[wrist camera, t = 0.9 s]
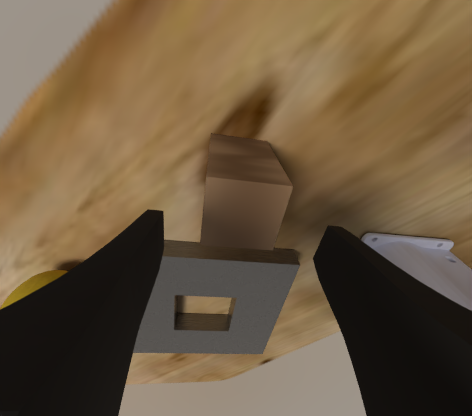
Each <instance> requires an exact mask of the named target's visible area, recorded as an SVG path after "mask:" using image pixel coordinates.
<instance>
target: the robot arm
mask: <svg viewBox="0 0 472 416" xmlns="http://www.w3.org/2000/svg"><path fill="white" fill-rule="evenodd" d="M453 245H454V243H453V242H452V241H451V240H447V239H436V238H424V237H413V236H402V235H390V234H379V233H366V234H365V235H364V236H363V237H362V239H361V240H360V239H359V238H357V237H356V236H354V235H353V234H351V233H350V232H348V231H347V230H345V229H344V228H342V227H339V226H328V227H327V229H326V231H325V233H324V235H323V238H322V240H321V242H320V244H319V246H318V249H317V251H316V253H315V255H314V257H313V260H314V264H315V268H316V272H317V275H318V278H319V281H320V283H321V286H322V288H323V290H324V293H325V295H326V297H327V300H328V302H329V304H330V306H331V309H332V311H333V313H334V315H335V318H336V320H337V322H338V325H339V327H340V329H341V332H342V334H343V337H344V340H345V343H346V346H347V349H348V352H349V355H350V358H351V361H352V365H353V368H354V371H355V375H356V378H357V381H358V385H359V388H360V391H361V395H362V400H363V403H364V407H365V411H366V415H367V416H472V269H470V268H469V267H468V266H467V265H466V264H464V263H463V262H462V261H461V260H460V259H458V258H457V257H456V256H455V255H454V254H452V253H451V252H450V251H449V250H450V249H451V248H452V247H453ZM163 251H164V218H163V211H159V210H147V211H145V212H144V213H143V214H142V215H141V216H140V217H139V218H137V219H136V220H135V221H134V222H133V223H132V224H131V225H130V226H128V227H127V228H126V229H125V230H124V231H123V232H121V233H120V234H119V235H118V236H117V237H115V238H114V239H113V240H112V241H110V242H109V243H108V244H107V245H105V246H104V247H103V248H101V249H100V250H99V251H97V252H96V253H95V254H93V255H92V256H91V257H89V258H88V259H86V260H85V261H83V262H82V263H81V264H79V265H78V266H76V267H75V268H73V269H71V270H70V271H68V272H67V273H65V274H64V275H62V276H60V277H59V278H57V279H55V280H54V281H52V282H50V283H48V284H46V285H45V286H43V287H41V288H39V289H38V290H36V291H34V292H32V293H30V294H29V295H27V296H25V297H23V298H21V299H20V300H18V301H16V302H14V303H12V304H10V305H8V306H6V307H4V308H2V309H0V416H118V414H119V410H120V405H121V400H122V396H123V392H124V388H125V383H126V379H127V375H128V371H129V367H130V362H131V358H132V354H133V350H134V346H135V342H136V338H137V334H138V331H139V328H140V324H141V321H142V318H143V315H144V313H145V310H146V307H147V304H148V301H149V298H150V296H151V293H152V290H153V287H154V284H155V281H156V278H157V275H158V273H159V269H160V265H161V261H162V256H163Z"/></svg>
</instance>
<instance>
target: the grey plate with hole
mask: <svg viewBox="0 0 472 416" xmlns="http://www.w3.org/2000/svg"><path fill="white" fill-rule="evenodd" d="M299 266H300V264H299V261H298V259H297V256H296V254H295V251H294V250H291V249H277V248H273V250H261V249H247V248H233V247H219V246H206V245H200V243H196V242H182V241H169V240H164V251H163V256H162V261H161V265H160V269H159V273H158V275H157V278H156V281H155V284H154V287H153V290H152V293H151V296H150V298H149V301H148V304H147V307H146V310H145V313H144V315H143V318H142V321H141V324H140V328H139V331H138V334H137V338H136V342H135V346H134V350H133V353H214V354H263V351H264V349H265V347H266V344H267V342H268V340H269V337H270V335H271V333H272V330H273V328H274V325H275V323H276V321H277V318H278V316H279V314H280V311H281V309H282V307H283V304H284V302H285V300H286V297H287V295H288V292H289V290H290V288H291V285H292V283H293V281H294V278H295V276H296V274H297V271H298V269H299ZM177 295H185V296H208V297H231V298H232V299H231V304H230V308H229V313H228V315H220V314H190V313H177Z"/></svg>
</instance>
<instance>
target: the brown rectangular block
mask: <svg viewBox="0 0 472 416" xmlns="http://www.w3.org/2000/svg"><path fill="white" fill-rule="evenodd" d="M292 189H293V185H292V183H291V182H290V180H289V178H288V176H287V175H286V173H285V171H284V170H283V168H282V166H281V164H280V163H279V161H278V159H277V157H276V156H275V154H274V152H273V151H272V149H271V147H270V145H269V144H268V142H267V141H263V140H255V139H248V138H241V137H234V136H226V135H219V134H212V133H211V138H210V147H209V156H208V165H207V175H206V185H205V196H204V207H203V218H202V229H201V240H200V245H206V246H219V247H233V248H247V249H261V250H273V248H274V245H275V242H276V239H277V236H278V233H279V230H280V227H281V223H282V220H283V217H284V214H285V211H286V208H287V205H288V202H289V198H290V195H291V192H292Z"/></svg>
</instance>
